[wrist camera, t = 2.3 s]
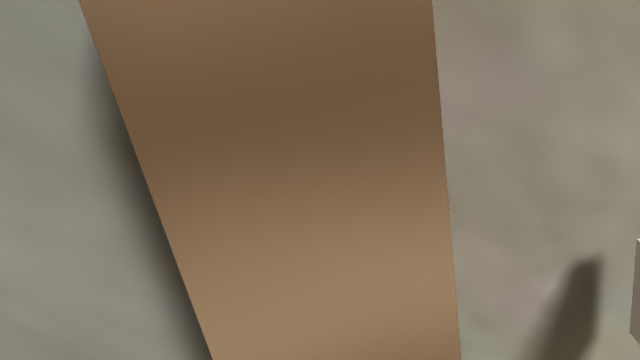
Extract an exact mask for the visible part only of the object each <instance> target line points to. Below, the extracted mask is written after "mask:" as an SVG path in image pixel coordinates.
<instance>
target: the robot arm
mask: <svg viewBox="0 0 640 360" xmlns="http://www.w3.org/2000/svg"><path fill="white" fill-rule="evenodd" d="M630 333H631V334H632V336H633V337H634V338H635V340H636V341H637V342H638V343H639V345H640V239H637V244H636V257H635V270H634V283H633V296H632V309H631V322H630Z"/></svg>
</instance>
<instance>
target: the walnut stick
mask: <svg viewBox="0 0 640 360" xmlns="http://www.w3.org/2000/svg"><path fill="white" fill-rule="evenodd" d="M79 3H80V5H81V8H82V11H83V13H84V16H85V19H86V22H87V24H88V27H89V30H90V32H91V35H92V38H93V40H94V43H95V46H96V48H97V51H98V54H99V56H100V59H101V62H102V64H103V67H104V70H105V72H106V75H107V78H108V80H109V83H110V86H111V88H112V91H113V94H114V97H115V99H116V102H117V105H118V107H119V110H120V113H121V115H122V118H123V121H124V123H125V126H126V129H127V131H128V134H129V137H130V139H131V142H132V145H133V147H134V150H135V153H136V155H137V158H138V161H139V163H140V166H141V169H142V171H143V174H144V177H145V180H146V182H147V185H148V188H149V190H150V193H151V196H152V198H153V201H154V204H155V206H156V209H157V212H158V214H159V217H160V220H161V222H162V225H163V228H164V230H165V233H166V236H167V238H168V241H169V244H170V246H171V249H172V252H173V255H174V257H175V260H176V263H177V265H178V268H179V271H180V273H181V276H182V279H183V281H184V284H185V287H186V289H187V292H188V295H189V297H190V300H191V303H192V305H193V308H194V311H195V313H196V316H197V319H198V321H199V324H200V327H201V329H202V332H203V335H204V338H205V340H206V343H207V346H208V348H209V351H210V354H211V356H212V359H213V360H461V350H460V338H459V326H458V313H457V301H456V289H455V277H454V265H453V252H452V240H451V228H450V216H449V203H448V191H447V179H446V167H445V154H444V142H443V130H442V118H441V106H440V93H439V81H438V69H437V57H436V44H435V32H434V20H433V8H432V0H79Z"/></svg>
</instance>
